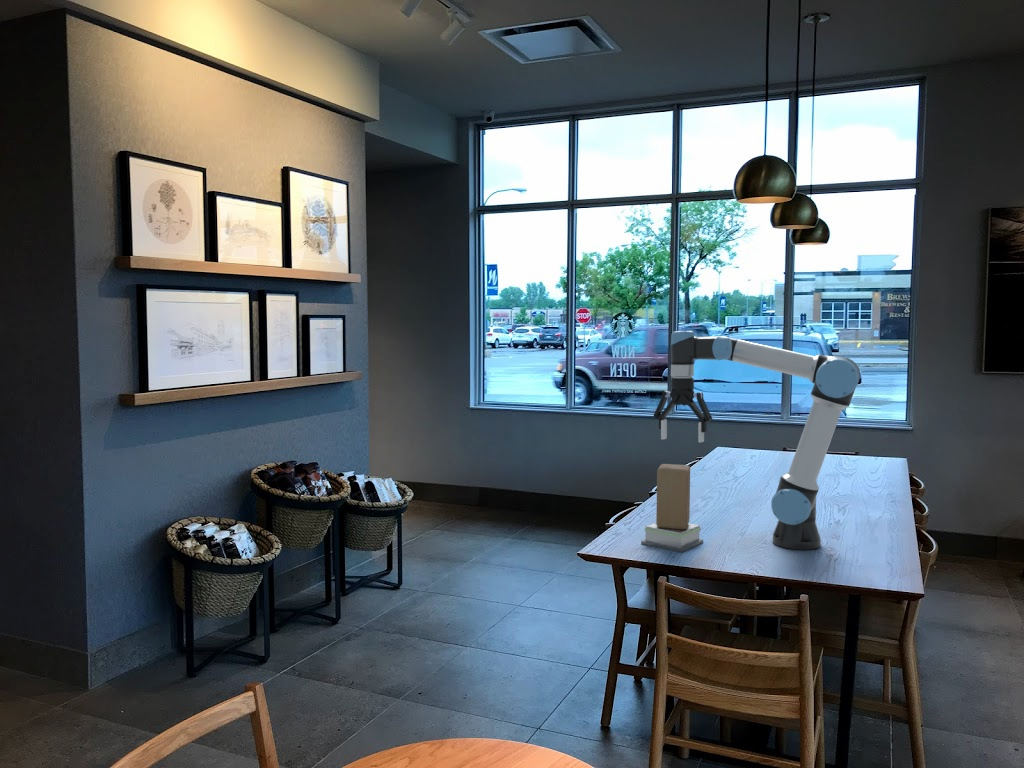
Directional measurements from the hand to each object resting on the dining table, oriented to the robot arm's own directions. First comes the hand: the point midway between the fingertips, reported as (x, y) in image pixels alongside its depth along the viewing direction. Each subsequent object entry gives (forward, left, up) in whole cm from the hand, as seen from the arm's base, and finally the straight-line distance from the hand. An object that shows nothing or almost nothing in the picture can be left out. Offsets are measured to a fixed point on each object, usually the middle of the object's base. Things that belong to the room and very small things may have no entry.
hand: (682, 440), depth 268 cm
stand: (+1, +4, -34) cm, 35 cm away
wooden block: (+1, +4, -29) cm, 29 cm away
